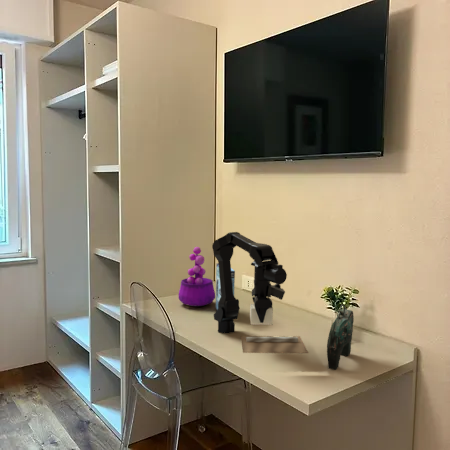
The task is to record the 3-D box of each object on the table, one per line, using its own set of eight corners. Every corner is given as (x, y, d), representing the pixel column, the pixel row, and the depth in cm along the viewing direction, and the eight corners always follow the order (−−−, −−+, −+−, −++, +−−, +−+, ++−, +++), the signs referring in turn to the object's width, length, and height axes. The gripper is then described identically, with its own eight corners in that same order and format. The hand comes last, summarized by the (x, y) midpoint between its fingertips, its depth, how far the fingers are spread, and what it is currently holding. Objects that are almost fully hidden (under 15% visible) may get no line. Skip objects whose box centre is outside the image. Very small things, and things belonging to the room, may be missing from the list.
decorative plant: (222, 304, 238) (223, 246, 235) (197, 312, 224) (197, 250, 221) (196, 298, 250) (196, 243, 247) (170, 305, 236) (170, 246, 233)
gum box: (215, 308, 230) (215, 263, 228) (225, 308, 231) (225, 262, 229) (223, 320, 211) (224, 270, 209) (234, 319, 212) (235, 270, 210)
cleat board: (242, 355, 168) (243, 348, 168) (240, 338, 186) (240, 332, 186) (308, 356, 169) (308, 348, 169) (299, 339, 187) (300, 332, 186)
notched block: (250, 324, 170) (251, 308, 169) (249, 319, 176) (250, 304, 175) (272, 324, 170) (272, 308, 169) (270, 319, 176) (271, 304, 175)
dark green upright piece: (339, 350, 175) (341, 298, 173) (356, 353, 172) (358, 300, 170) (322, 368, 158) (324, 311, 156) (341, 372, 155) (343, 314, 153)
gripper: (287, 285, 162) (285, 328, 164) (280, 274, 181) (279, 312, 182) (255, 284, 162) (254, 327, 164) (252, 273, 181) (251, 312, 182)
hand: (261, 319), depth 173 cm, fingers closed on notched block, 6 cm apart
